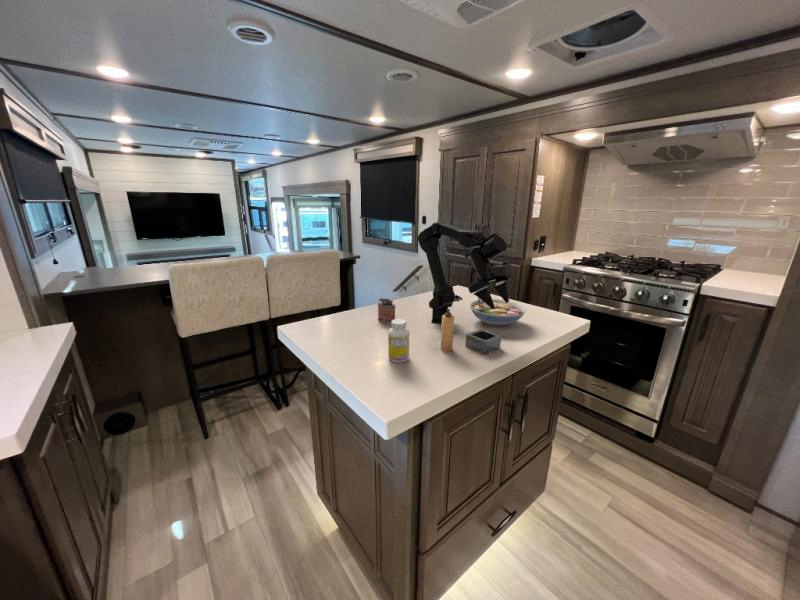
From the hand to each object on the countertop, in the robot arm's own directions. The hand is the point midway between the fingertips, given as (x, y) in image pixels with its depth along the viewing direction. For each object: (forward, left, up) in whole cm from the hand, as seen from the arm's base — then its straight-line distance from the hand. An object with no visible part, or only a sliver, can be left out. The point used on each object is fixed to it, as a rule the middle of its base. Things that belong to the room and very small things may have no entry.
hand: (500, 305), depth 108 cm
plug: (-17, -9, -15) cm, 24 cm away
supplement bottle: (-31, -20, -15) cm, 40 cm away
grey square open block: (-5, -4, -15) cm, 16 cm away
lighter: (-45, +12, -15) cm, 49 cm away
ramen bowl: (0, +22, -15) cm, 26 cm away
